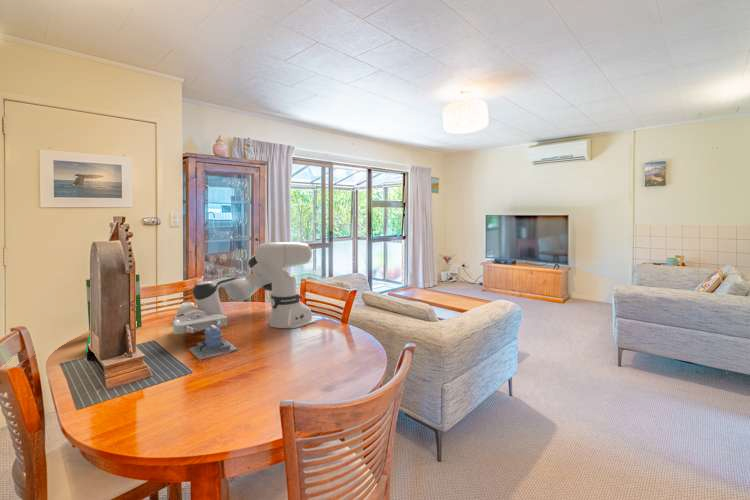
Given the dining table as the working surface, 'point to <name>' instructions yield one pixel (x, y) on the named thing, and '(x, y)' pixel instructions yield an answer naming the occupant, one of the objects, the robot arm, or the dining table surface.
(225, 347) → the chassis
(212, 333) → the servo
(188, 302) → the pipe fitting
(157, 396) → the dining table surface
